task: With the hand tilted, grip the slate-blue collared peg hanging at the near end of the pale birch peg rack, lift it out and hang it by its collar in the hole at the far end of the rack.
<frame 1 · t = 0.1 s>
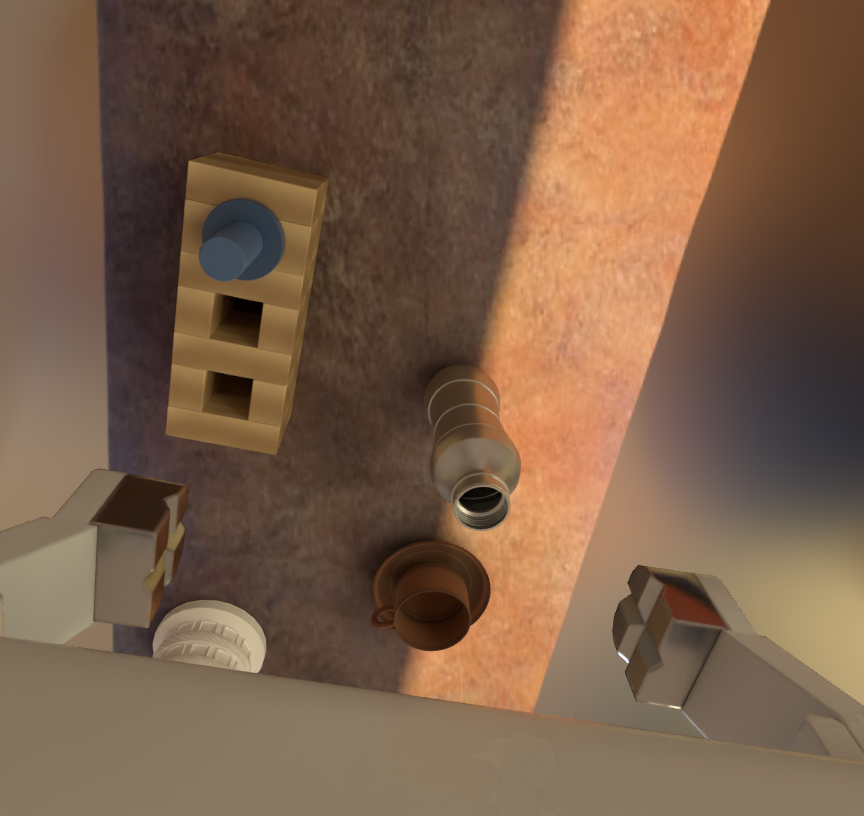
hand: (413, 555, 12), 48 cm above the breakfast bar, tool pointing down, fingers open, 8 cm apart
peg: (261, 224, 55), point 2 cm above the breakfast bar, touching rack
decorative container: (212, 641, 74), on the breakfast bar
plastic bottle: (459, 389, 63), on the breakfast bar
rack: (257, 293, 59), on the breakfast bar
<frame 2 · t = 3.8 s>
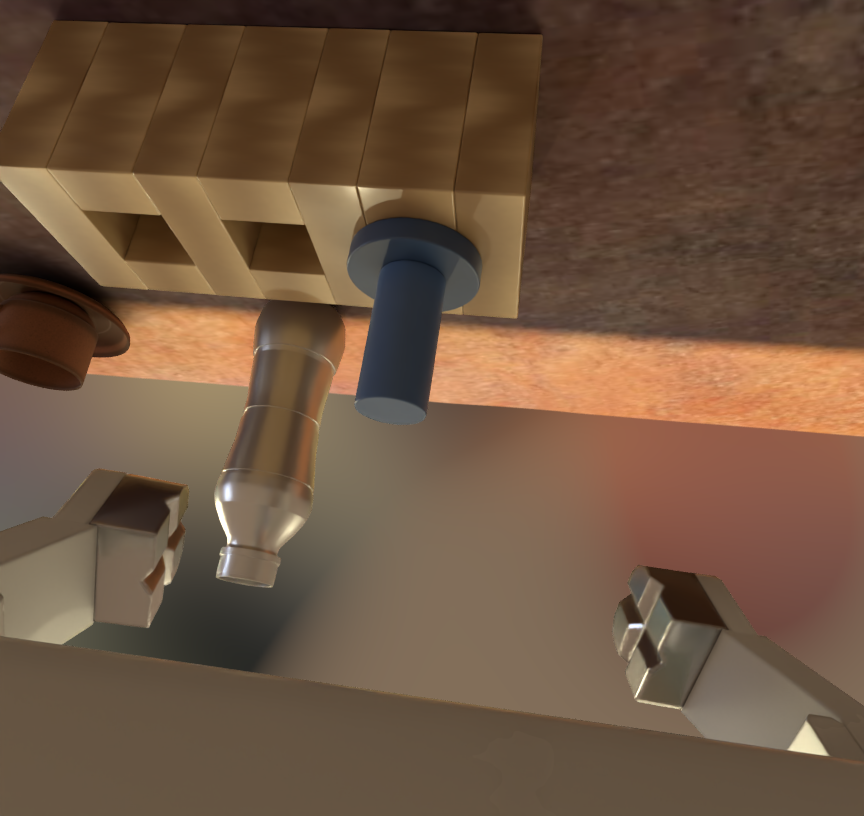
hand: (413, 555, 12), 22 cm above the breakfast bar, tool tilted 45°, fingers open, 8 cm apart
peg: (435, 147, 31), point 2 cm above the breakfast bar, touching rack
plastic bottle: (308, 304, 51), on the breakfast bar
rack: (312, 108, 33), on the breakfast bar
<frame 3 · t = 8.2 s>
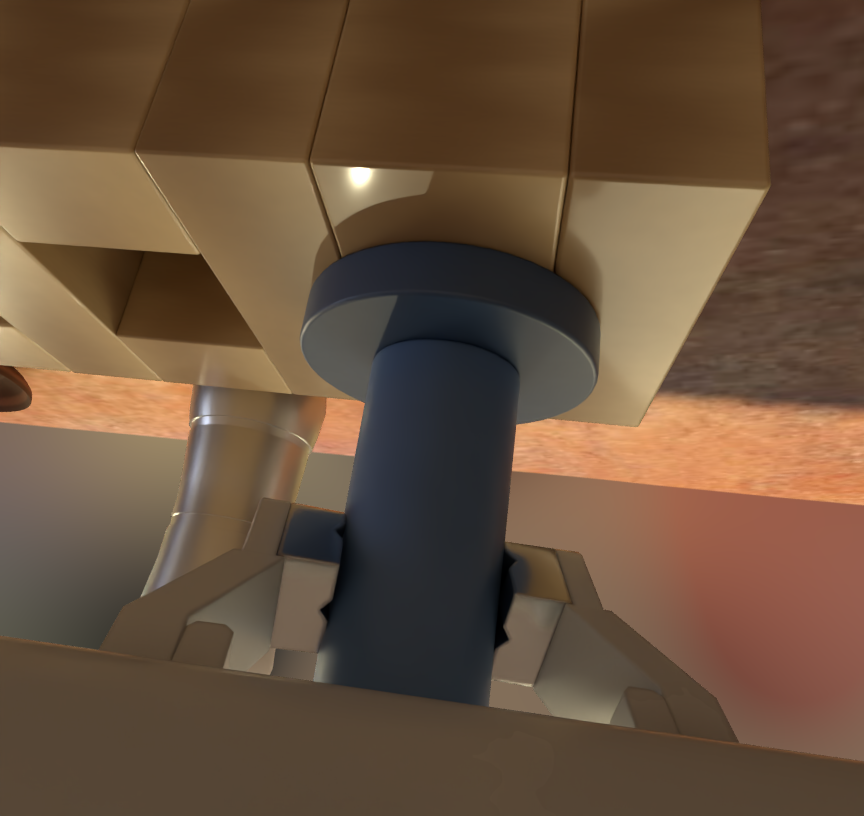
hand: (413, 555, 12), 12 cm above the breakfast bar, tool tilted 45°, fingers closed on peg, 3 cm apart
peg: (485, 94, 16), point 2 cm above the breakfast bar, touching gripper, rack
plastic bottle: (273, 349, 35), on the breakfast bar
rack: (244, 23, 17), on the breakfast bar
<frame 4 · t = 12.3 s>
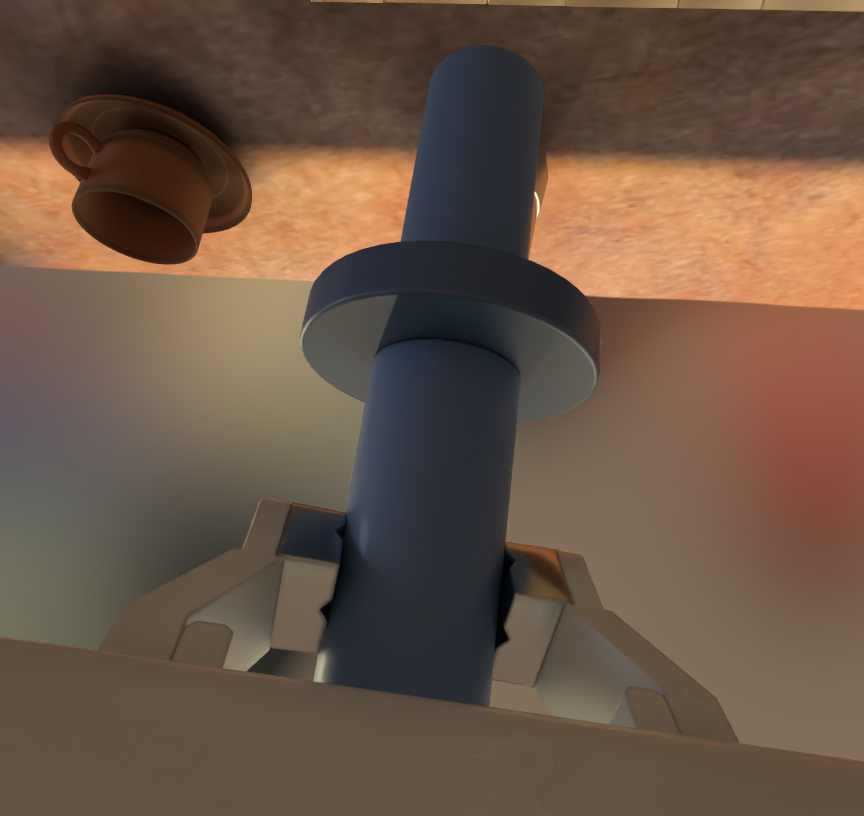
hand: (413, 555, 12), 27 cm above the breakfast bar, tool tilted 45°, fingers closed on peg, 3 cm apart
peg: (486, 93, 16), point 17 cm above the breakfast bar, touching gripper
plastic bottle: (495, 136, 40), on the breakfast bar
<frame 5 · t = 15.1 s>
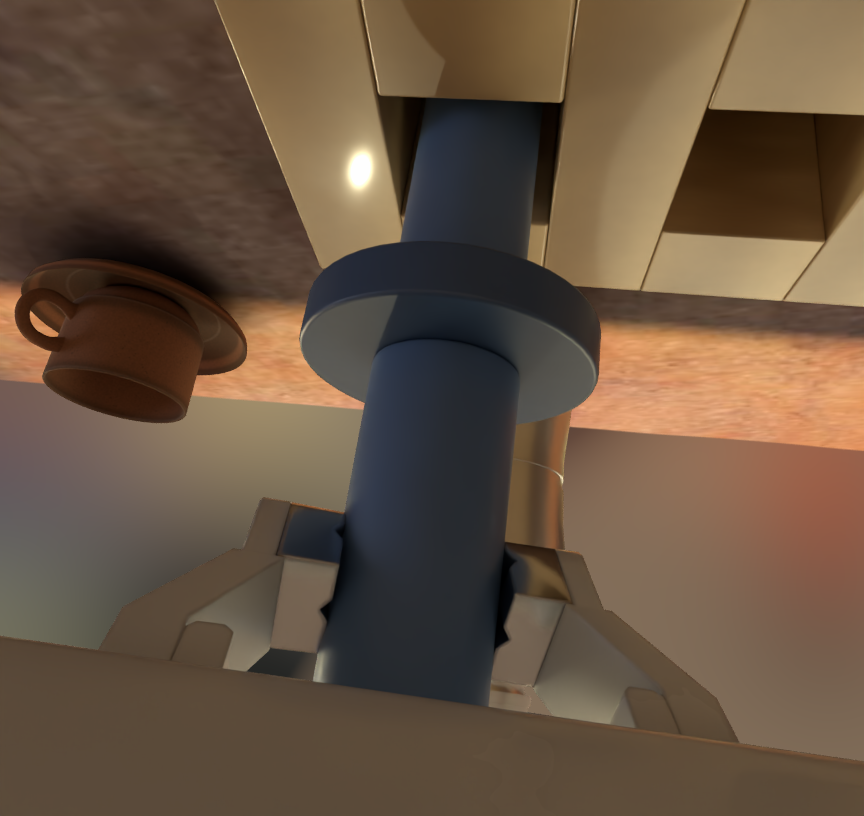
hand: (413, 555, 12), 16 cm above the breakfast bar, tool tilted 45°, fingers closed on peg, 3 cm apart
peg: (485, 93, 16), point 6 cm above the breakfast bar, touching gripper
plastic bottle: (522, 302, 35), on the breakfast bar
when the fingers open (12 cm above the breakfast bar, at t = 16.8 s): peg stays where it is, resting on rack.
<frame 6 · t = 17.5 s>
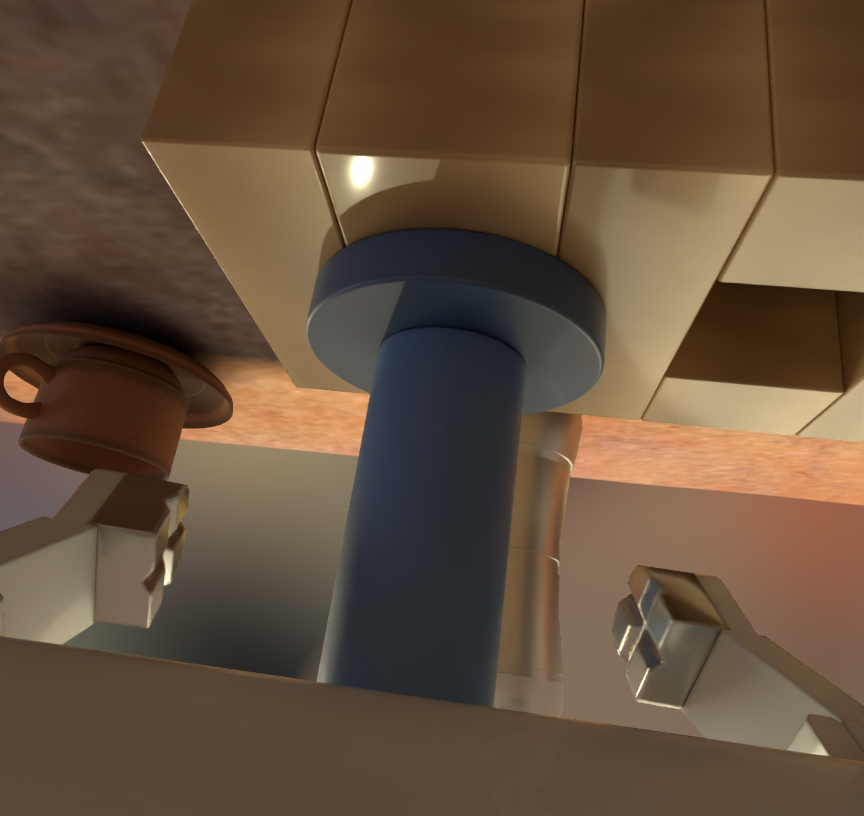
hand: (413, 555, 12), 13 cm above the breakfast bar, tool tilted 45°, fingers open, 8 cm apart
peg: (491, 85, 16), point 2 cm above the breakfast bar, touching rack
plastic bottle: (518, 368, 34), on the breakfast bar
rack: (769, 32, 16), on the breakfast bar
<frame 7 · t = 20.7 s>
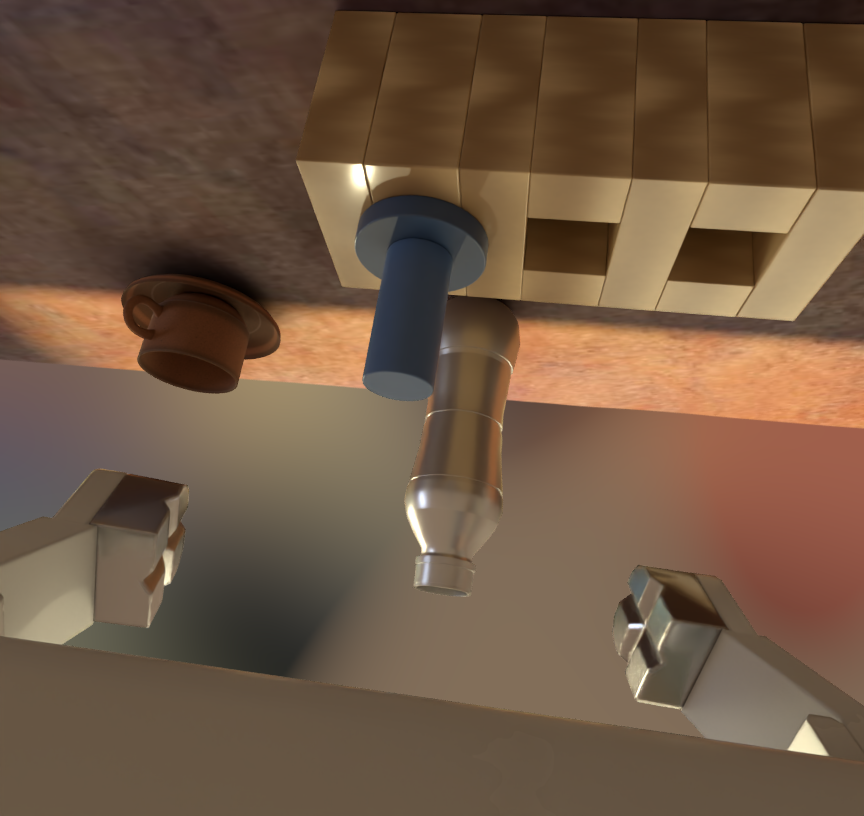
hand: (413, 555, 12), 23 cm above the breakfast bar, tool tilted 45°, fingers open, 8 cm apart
peg: (441, 129, 32), point 2 cm above the breakfast bar, touching rack
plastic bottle: (478, 306, 50), on the breakfast bar
rack: (579, 103, 32), on the breakfast bar
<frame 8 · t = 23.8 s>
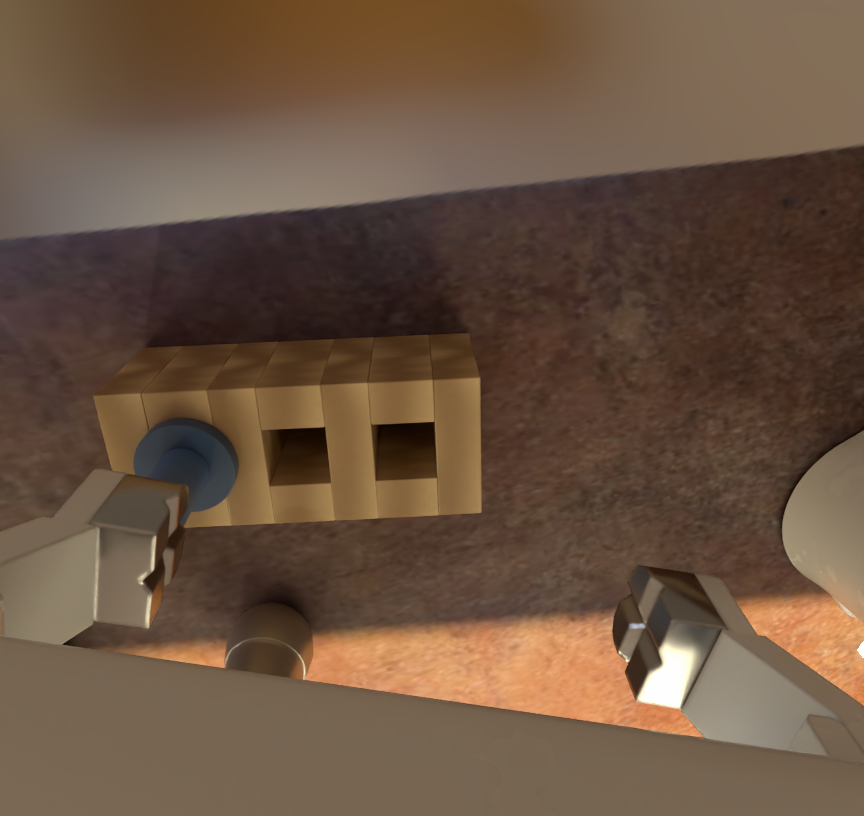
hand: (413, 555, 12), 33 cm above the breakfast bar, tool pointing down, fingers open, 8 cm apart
peg: (215, 417, 45), point 2 cm above the breakfast bar, touching rack
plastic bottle: (276, 623, 55), on the breakfast bar
rack: (313, 401, 47), on the breakfast bar
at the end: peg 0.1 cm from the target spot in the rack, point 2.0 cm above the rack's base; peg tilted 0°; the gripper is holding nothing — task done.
